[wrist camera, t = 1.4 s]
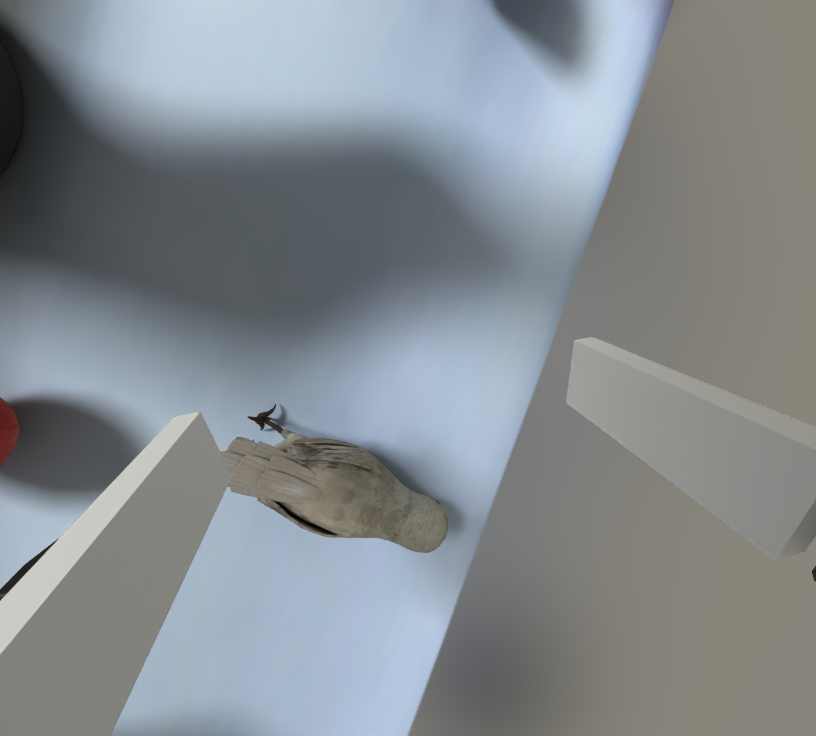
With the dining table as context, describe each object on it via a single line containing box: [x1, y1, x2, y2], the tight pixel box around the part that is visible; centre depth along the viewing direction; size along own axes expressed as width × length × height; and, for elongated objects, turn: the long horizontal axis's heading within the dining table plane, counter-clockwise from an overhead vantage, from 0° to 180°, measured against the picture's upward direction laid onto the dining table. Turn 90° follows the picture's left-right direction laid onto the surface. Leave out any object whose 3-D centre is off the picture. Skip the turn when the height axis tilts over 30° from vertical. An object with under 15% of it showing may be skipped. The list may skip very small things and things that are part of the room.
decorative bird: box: [220, 404, 448, 553], centre depth 20 cm, size 5×16×8 cm, turn 60°
